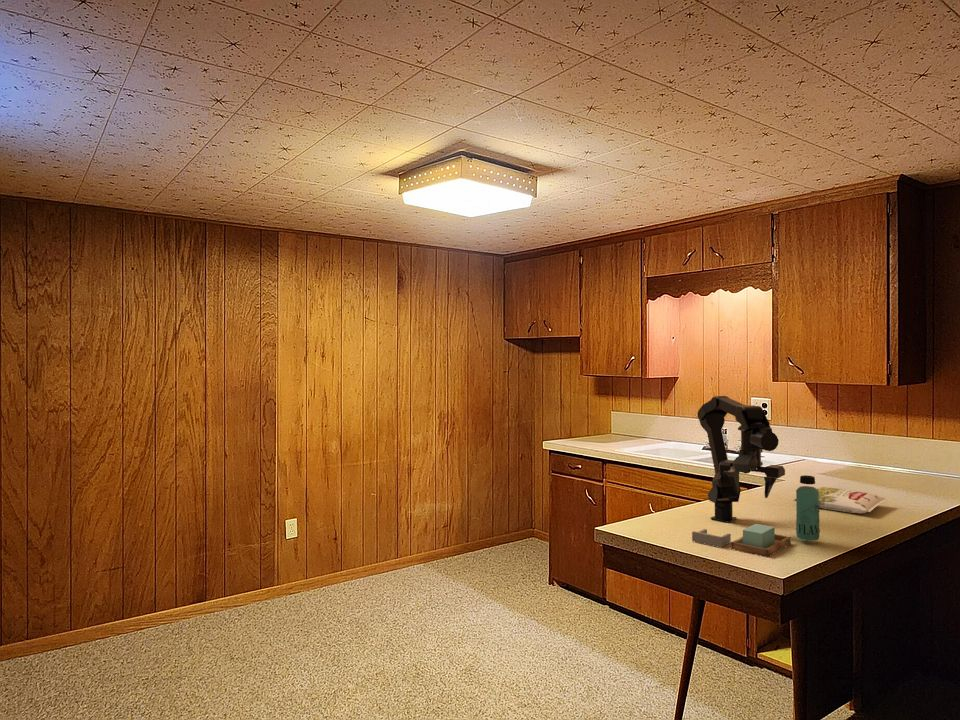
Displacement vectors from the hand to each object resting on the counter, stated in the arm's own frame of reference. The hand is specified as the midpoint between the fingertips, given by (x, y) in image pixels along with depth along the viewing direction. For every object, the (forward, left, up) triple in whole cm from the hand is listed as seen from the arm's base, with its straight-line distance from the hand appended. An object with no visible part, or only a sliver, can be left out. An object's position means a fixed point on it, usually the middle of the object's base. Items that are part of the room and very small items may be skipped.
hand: (751, 495), depth 205 cm
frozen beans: (-53, +9, -12) cm, 55 cm away
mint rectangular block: (+12, +7, -11) cm, 18 cm away
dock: (+16, -5, -12) cm, 21 cm away
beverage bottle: (-2, +16, -12) cm, 20 cm away
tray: (+11, +7, -12) cm, 18 cm away
